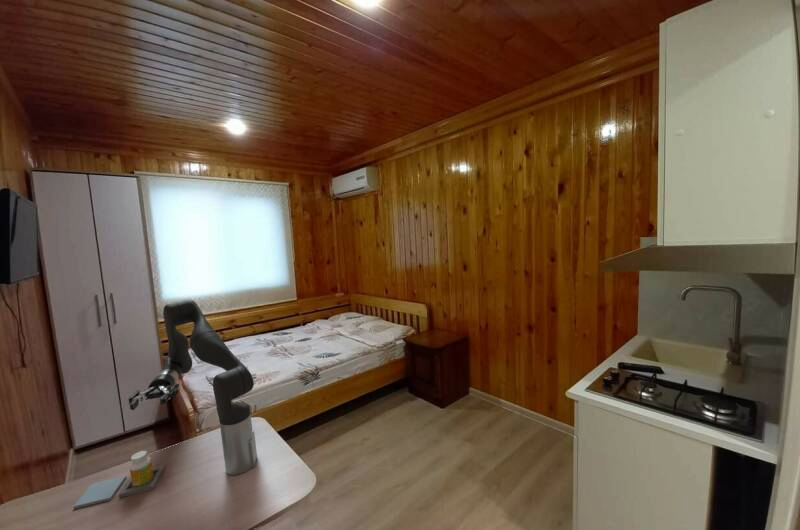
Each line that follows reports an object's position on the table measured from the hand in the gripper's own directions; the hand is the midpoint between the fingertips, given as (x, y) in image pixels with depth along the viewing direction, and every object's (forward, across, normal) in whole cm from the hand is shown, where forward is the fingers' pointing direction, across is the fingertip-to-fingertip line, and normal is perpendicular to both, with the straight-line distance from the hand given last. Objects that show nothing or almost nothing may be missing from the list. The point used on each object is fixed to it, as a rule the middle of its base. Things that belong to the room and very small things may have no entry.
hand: (147, 405), depth 111 cm
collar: (+11, 0, +20) cm, 23 cm away
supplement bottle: (+11, 0, +21) cm, 24 cm away
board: (+11, -10, +21) cm, 26 cm away
